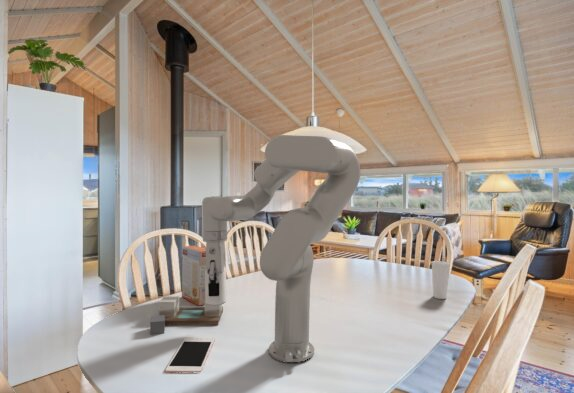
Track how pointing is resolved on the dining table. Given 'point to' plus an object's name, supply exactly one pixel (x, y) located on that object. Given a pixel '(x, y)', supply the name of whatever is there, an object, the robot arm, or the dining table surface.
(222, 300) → the can
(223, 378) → the dining table surface
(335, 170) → the robot arm
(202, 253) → the cracker box
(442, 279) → the drinking glass
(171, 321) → the mounting board
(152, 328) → the block
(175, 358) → the cell phone
